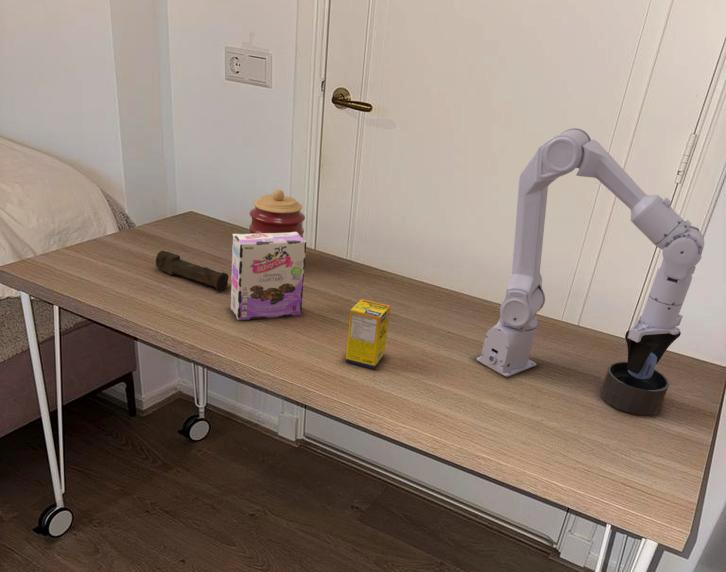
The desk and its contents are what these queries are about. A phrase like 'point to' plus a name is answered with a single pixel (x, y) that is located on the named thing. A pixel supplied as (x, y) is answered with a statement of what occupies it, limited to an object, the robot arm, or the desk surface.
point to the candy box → (267, 275)
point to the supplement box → (367, 333)
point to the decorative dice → (646, 368)
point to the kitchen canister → (276, 214)
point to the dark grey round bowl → (633, 390)
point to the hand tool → (190, 270)
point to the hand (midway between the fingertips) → (641, 367)
